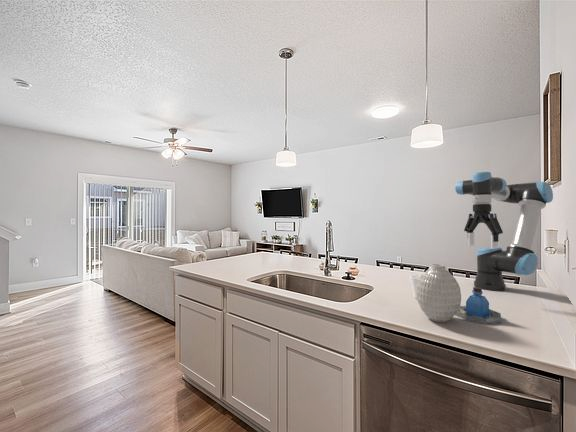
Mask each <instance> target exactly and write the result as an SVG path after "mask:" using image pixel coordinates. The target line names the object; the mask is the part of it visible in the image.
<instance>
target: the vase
mask: <svg viewBox="0 0 576 432" xmlns="http://www.w3.org/2000/svg"><path fill="white" fill-rule="evenodd" d="M421 275H422V276H421V277H420V279H419V281H418V283H417V287H416V296H417V299H416V300H417V304H418V306H419V307H420V310H421V311H422V312H423V313H424V315H425V316H426V317H427V318H428V319H429V320H431V321H433V322H437V323H447V322H448V321H450V320H451V319H453V318H454V316H456V315H455V314H456V313H457V311H458V310H459V307H460V306H461V303H462V292H461V287H460V284H459V283H458V281H457V279H456V277H454V275H453V274H452V273H451V272H449V270H448V269H446V267H445V265H444V264H440V263H433V264H432V263H431V264H430V267H429V268H427V270H426V271H424V272H423V274H421Z"/></svg>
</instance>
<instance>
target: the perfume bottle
mask: <svg viewBox="0 0 576 432" xmlns="http://www.w3.org/2000/svg"><path fill="white" fill-rule="evenodd" d="M482 290H483V289H482V288H479V287H475V286H473V287H472V292H471V293H472V294H471V295H469V296H468V297H467V299H466V300H465V306H466V311H467V313H469V314H472V315H478V316H489V309H490V302H489V300H488V299H487V297H486V296H484V295H483V291H482Z"/></svg>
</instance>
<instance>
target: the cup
mask: <svg viewBox="0 0 576 432" xmlns="http://www.w3.org/2000/svg"><path fill="white" fill-rule="evenodd" d="M421 276H422V274H411V275H410V276H409V278H410V283H411V289H412V293H413V294H412V295H413V297H414V299H415V300H417V296H416V287H417V283H418V281H419V279H420V277H421Z"/></svg>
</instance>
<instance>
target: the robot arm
mask: <svg viewBox="0 0 576 432" xmlns="http://www.w3.org/2000/svg"><path fill="white" fill-rule="evenodd" d="M546 182H547V181H536V182H524V183H514V184H507V181H506V180H505V179H504V178H501V177H498V176H497V177H492V173H491V172H490V171H479V172H474V173H473V174H472V179H468V180H459V181H458V182H456V183H455V187H454V190H455V192H456V194H457V195H472V212H473V213H469V214H468V218H467V221H466V225H465V226H464V229H463V230H464V232H466V233H467V239H468V241H467V242H468V245H467V246H469V247H472V246H475V232H474V231H475V230H476V228H477V227H478V226H479V224H484V225H486V227H487V228H488V229H489V230H490V232H491V234H490V247H483V248H478V249H477V254H476V260H477V261H476V263H477V265H476V266H477V269H476V270H477V273H476V275H475V278H474V281H473V287H479V288H482V290H487V291H496V292H497V291H498V292H500V291H501V292H502V291H506V290H507V285H506V283H505V280H504V277H503V273H511V274H516V275H521V276H523V275H524V276H529V275H532V274H533V273H534V272H535V271H536V270H537V267H538V264H539V263H538V260H539V259H538V256H537V254H535V250H533V249H532V248H533V243H534V240H535V235H536V232H537V228H538V224H539V223H538V222H539V218H540V215H541V210H542V209H544V208H545V207H546V206H547V205H546V204H547V203H549V204H550V203H551V202H552V201H553V200H554V192H553V189H552V187H551V184H549V185H547V183H548V182H547V183H546ZM492 199H493V200H495V201H498V202H503V203H509V204H518V205H519V206H520V209H519V214H518V218H517V220H516V225H515V229H514V232H513V237H512V240H511V244H510V245H507V247H506V250H503V248H502V247H498V246H499V245H498V242H499V241H500V239H499V235H500V234H501V235H502V234H504V231H503V229H502V226H501V225H500V222H499V220H498V218H497V217H498V216H497V213H491V212H492V204H491V203H492Z"/></svg>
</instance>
